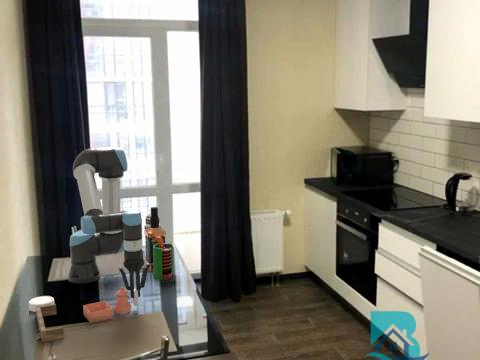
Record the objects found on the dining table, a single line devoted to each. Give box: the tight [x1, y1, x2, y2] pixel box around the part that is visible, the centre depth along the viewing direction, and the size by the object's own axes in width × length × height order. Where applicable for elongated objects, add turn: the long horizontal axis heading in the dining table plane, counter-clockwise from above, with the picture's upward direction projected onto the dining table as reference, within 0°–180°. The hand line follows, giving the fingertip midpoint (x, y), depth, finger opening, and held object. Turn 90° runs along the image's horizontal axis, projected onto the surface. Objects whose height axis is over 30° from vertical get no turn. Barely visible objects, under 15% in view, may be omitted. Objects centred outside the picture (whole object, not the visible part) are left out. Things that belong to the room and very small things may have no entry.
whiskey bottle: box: [144, 206, 167, 273], centre depth 266 cm, size 10×10×32 cm
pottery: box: [82, 287, 132, 324], centre depth 209 cm, size 18×10×10 cm, turn 122°
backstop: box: [35, 303, 65, 343], centre depth 198 cm, size 26×8×4 cm, turn 25°
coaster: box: [28, 295, 55, 313], centre depth 217 cm, size 10×10×4 cm
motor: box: [153, 236, 174, 281], centre depth 253 cm, size 10×9×20 cm
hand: (135, 304), depth 214 cm, fingers closed
